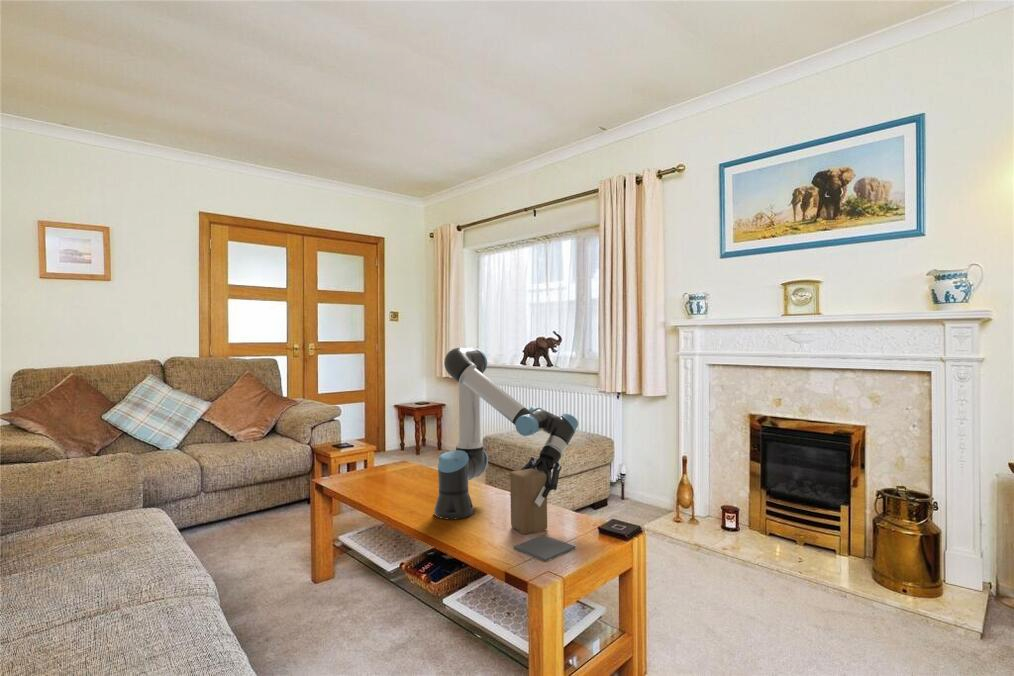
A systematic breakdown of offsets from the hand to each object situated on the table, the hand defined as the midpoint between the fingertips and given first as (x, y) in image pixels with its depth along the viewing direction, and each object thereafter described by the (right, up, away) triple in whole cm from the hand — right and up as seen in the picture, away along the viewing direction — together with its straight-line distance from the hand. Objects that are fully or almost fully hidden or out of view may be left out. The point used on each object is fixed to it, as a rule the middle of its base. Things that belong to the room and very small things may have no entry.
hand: (524, 500), depth 180 cm
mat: (+6, -10, -17) cm, 21 cm away
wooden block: (+2, -10, +1) cm, 11 cm away
